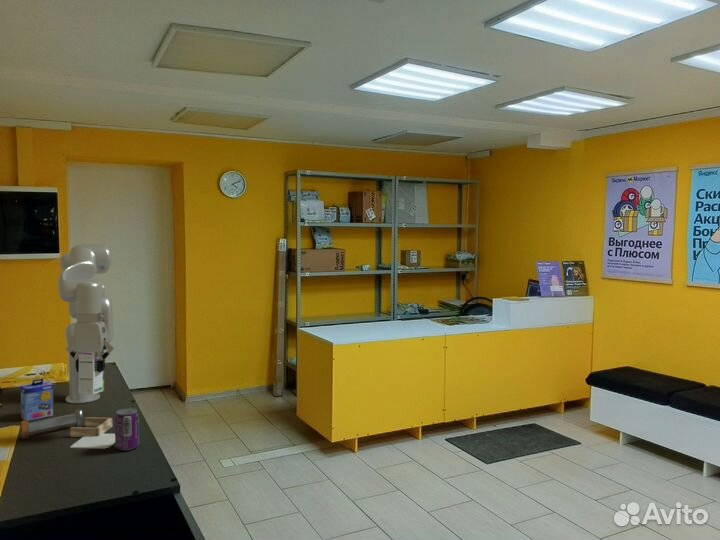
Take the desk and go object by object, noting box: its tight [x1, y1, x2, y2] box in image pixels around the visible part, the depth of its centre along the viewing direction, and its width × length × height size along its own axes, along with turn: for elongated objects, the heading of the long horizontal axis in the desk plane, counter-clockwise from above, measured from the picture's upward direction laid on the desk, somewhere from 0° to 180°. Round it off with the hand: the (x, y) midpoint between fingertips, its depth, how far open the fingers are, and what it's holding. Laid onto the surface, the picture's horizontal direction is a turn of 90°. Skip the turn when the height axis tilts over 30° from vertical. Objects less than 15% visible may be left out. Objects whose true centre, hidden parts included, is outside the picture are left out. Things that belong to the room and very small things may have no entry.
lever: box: [20, 408, 84, 440], centre depth 195 cm, size 19×2×6 cm, turn 134°
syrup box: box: [79, 352, 105, 395], centre depth 193 cm, size 6×6×14 cm
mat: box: [69, 433, 115, 450], centre depth 188 cm, size 12×12×1 cm
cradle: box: [69, 416, 114, 438], centre depth 197 cm, size 11×10×3 cm
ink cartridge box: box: [20, 378, 54, 422], centre depth 211 cm, size 10×6×14 cm, turn 137°
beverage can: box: [114, 407, 140, 452], centre depth 183 cm, size 7×7×12 cm
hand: (90, 370), depth 193 cm, fingers closed on syrup box, 6 cm apart
